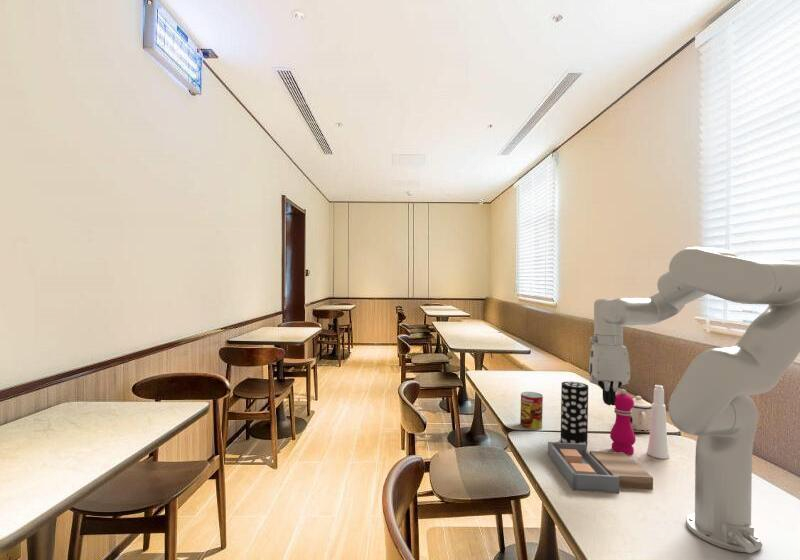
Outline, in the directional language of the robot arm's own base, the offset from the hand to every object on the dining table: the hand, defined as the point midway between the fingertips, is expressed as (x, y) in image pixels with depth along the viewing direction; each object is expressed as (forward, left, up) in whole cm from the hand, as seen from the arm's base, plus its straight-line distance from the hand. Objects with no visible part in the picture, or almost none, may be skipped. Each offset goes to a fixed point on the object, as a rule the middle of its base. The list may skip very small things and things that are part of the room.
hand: (609, 404), depth 118 cm
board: (-3, -2, -19) cm, 19 cm away
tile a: (-7, +10, -16) cm, 20 cm away
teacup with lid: (+37, -28, -19) cm, 50 cm away
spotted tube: (+18, +3, -19) cm, 27 cm away
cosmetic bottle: (+12, -21, -19) cm, 31 cm away
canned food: (+34, +13, -19) cm, 41 cm away
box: (-3, +9, -19) cm, 21 cm away
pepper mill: (+14, -11, -19) cm, 26 cm away
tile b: (+3, +10, -16) cm, 19 cm away
